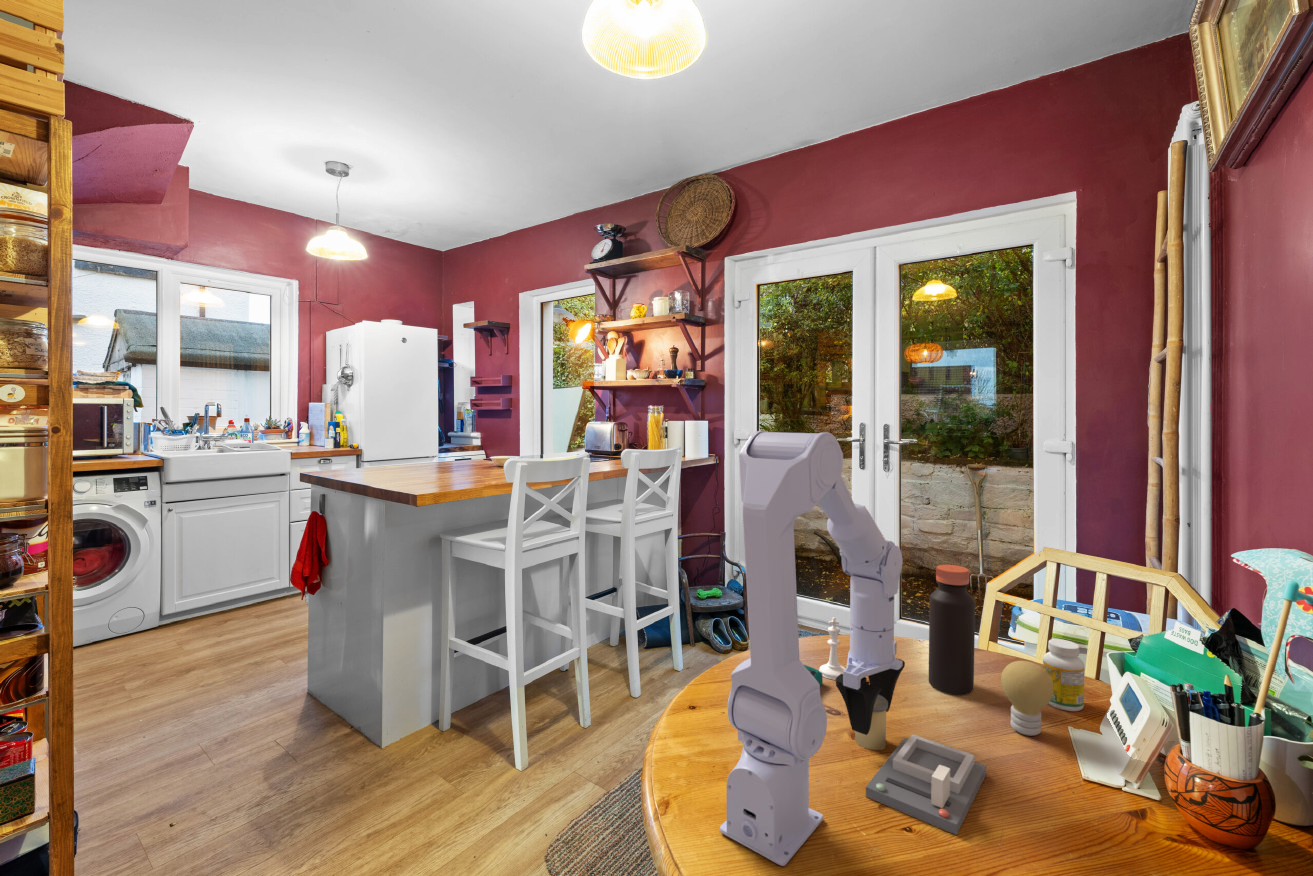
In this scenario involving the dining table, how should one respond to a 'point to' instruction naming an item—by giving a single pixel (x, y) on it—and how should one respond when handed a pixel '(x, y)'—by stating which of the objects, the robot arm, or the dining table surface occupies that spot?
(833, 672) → the chess piece
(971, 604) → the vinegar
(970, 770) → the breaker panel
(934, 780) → the lever
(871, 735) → the beige cylinder
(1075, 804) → the dining table surface
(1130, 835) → the dining table surface
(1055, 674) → the supplement bottle
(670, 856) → the dining table surface
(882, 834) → the dining table surface
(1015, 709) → the light bulb
